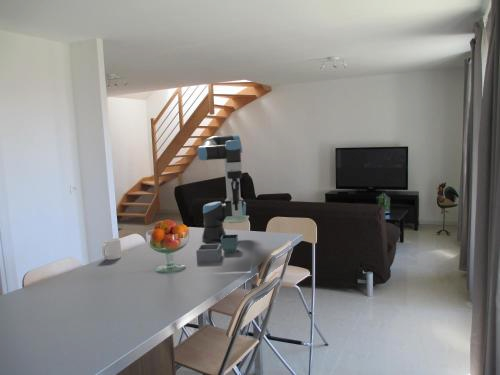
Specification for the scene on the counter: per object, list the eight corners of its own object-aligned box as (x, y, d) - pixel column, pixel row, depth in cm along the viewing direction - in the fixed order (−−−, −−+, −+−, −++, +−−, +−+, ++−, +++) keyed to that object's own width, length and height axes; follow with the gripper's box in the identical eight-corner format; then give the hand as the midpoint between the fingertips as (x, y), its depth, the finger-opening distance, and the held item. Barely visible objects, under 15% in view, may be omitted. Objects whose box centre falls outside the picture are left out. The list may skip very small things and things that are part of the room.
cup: (124, 256, 228) (123, 238, 227) (109, 262, 218) (107, 243, 217) (113, 255, 232) (111, 237, 231) (97, 261, 221) (95, 242, 220)
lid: (226, 219, 213) (225, 201, 212) (248, 218, 213) (247, 200, 212) (223, 224, 201) (222, 205, 200) (247, 223, 200) (246, 203, 199)
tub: (201, 257, 216) (200, 244, 215) (222, 256, 215) (221, 243, 215) (197, 264, 204) (196, 250, 203) (219, 263, 204) (218, 249, 203)
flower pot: (238, 254, 219) (237, 237, 218) (221, 255, 219) (220, 238, 218) (238, 250, 227) (237, 234, 226) (223, 250, 228) (222, 235, 227)
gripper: (228, 170, 217) (231, 214, 219) (225, 172, 202) (228, 219, 204) (242, 169, 216) (245, 213, 219) (240, 171, 201) (243, 218, 204)
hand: (237, 216), depth 211 cm, fingers closed on lid, 2 cm apart
